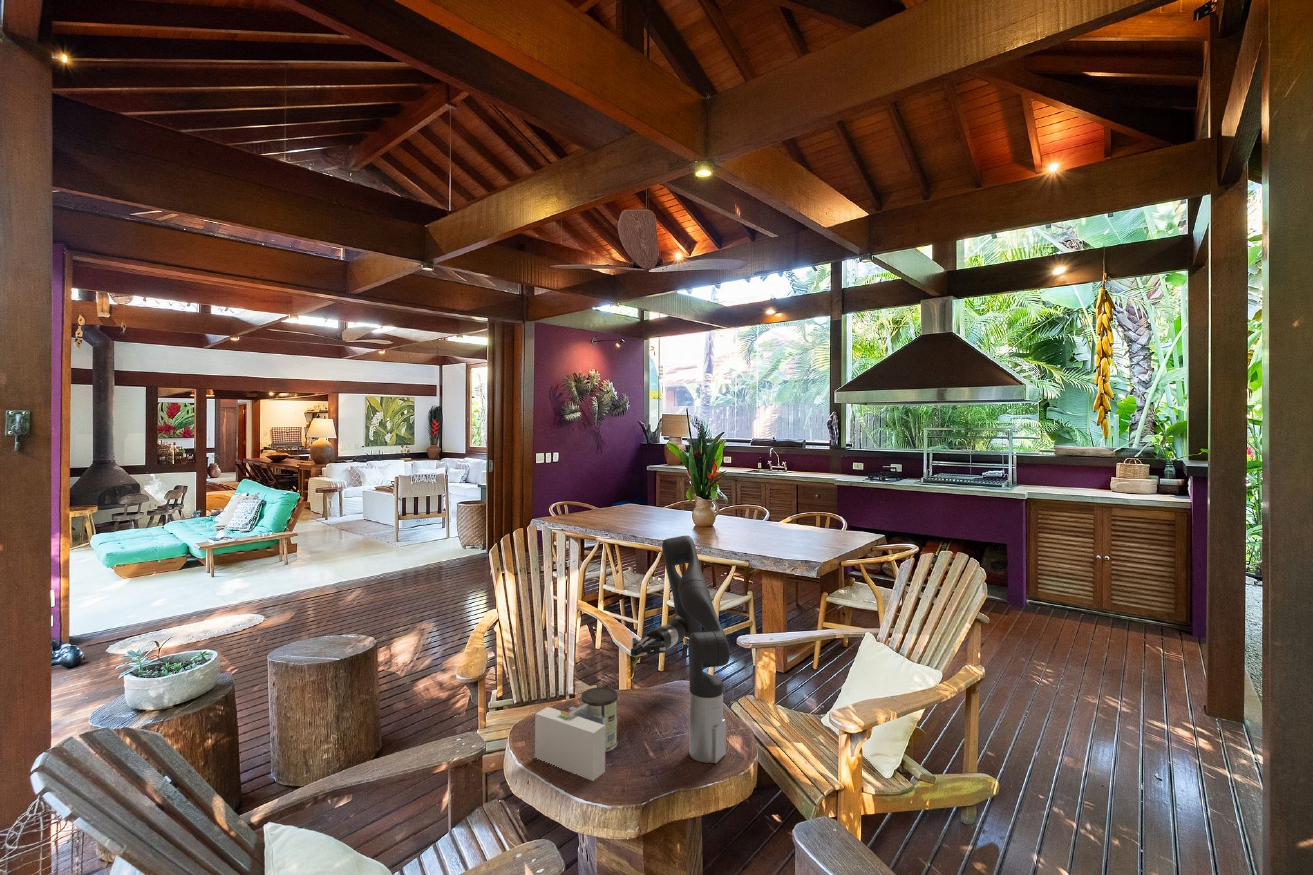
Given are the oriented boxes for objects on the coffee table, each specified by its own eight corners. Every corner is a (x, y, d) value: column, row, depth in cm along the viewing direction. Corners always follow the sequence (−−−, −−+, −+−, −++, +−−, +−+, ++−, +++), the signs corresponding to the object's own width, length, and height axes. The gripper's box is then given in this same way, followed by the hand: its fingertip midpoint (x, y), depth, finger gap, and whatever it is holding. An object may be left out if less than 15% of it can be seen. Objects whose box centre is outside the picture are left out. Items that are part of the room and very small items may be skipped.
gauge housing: (605, 771, 153) (605, 724, 153) (593, 781, 148) (593, 732, 148) (547, 750, 163) (548, 706, 163) (534, 758, 159) (535, 713, 159)
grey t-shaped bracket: (605, 750, 159) (606, 708, 160) (587, 763, 153) (587, 719, 153) (571, 738, 166) (572, 697, 166) (552, 750, 159) (552, 708, 159)
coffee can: (589, 733, 173) (589, 685, 173) (622, 738, 170) (622, 689, 171) (575, 750, 163) (575, 699, 163) (610, 755, 160) (610, 703, 161)
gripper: (645, 624, 199) (615, 637, 185) (679, 630, 192) (651, 644, 177) (645, 646, 199) (615, 661, 184) (679, 653, 192) (650, 669, 177)
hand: (633, 652), depth 181 cm, fingers closed
